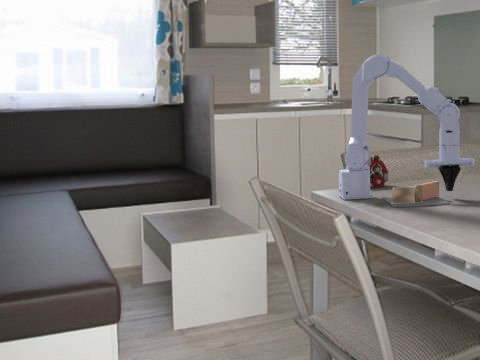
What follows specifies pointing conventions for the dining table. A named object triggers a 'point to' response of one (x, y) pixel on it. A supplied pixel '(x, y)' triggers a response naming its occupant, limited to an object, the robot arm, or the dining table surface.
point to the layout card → (423, 202)
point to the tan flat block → (429, 190)
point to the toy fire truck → (377, 172)
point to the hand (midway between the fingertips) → (449, 190)
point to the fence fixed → (406, 194)
